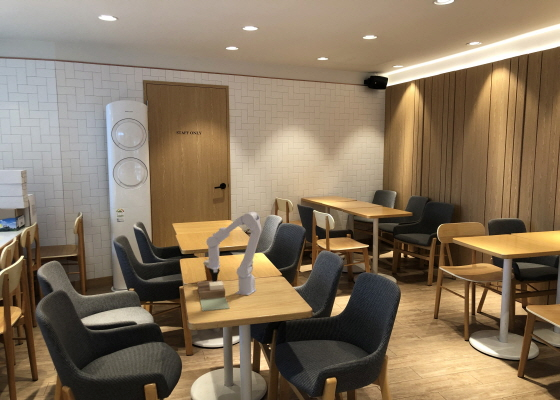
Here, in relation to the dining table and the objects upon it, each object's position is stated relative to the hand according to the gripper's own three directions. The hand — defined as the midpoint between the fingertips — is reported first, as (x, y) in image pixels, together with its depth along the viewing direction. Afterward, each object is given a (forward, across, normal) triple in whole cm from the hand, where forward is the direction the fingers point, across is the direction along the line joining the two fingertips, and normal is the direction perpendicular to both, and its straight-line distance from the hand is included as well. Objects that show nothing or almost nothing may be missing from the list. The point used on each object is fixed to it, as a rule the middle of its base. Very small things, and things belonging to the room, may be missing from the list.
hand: (214, 281), depth 237 cm
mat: (+5, +22, -2) cm, 23 cm away
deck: (+5, +4, -2) cm, 7 cm away
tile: (0, +8, 0) cm, 9 cm away
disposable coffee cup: (+5, -20, 0) cm, 21 cm away
